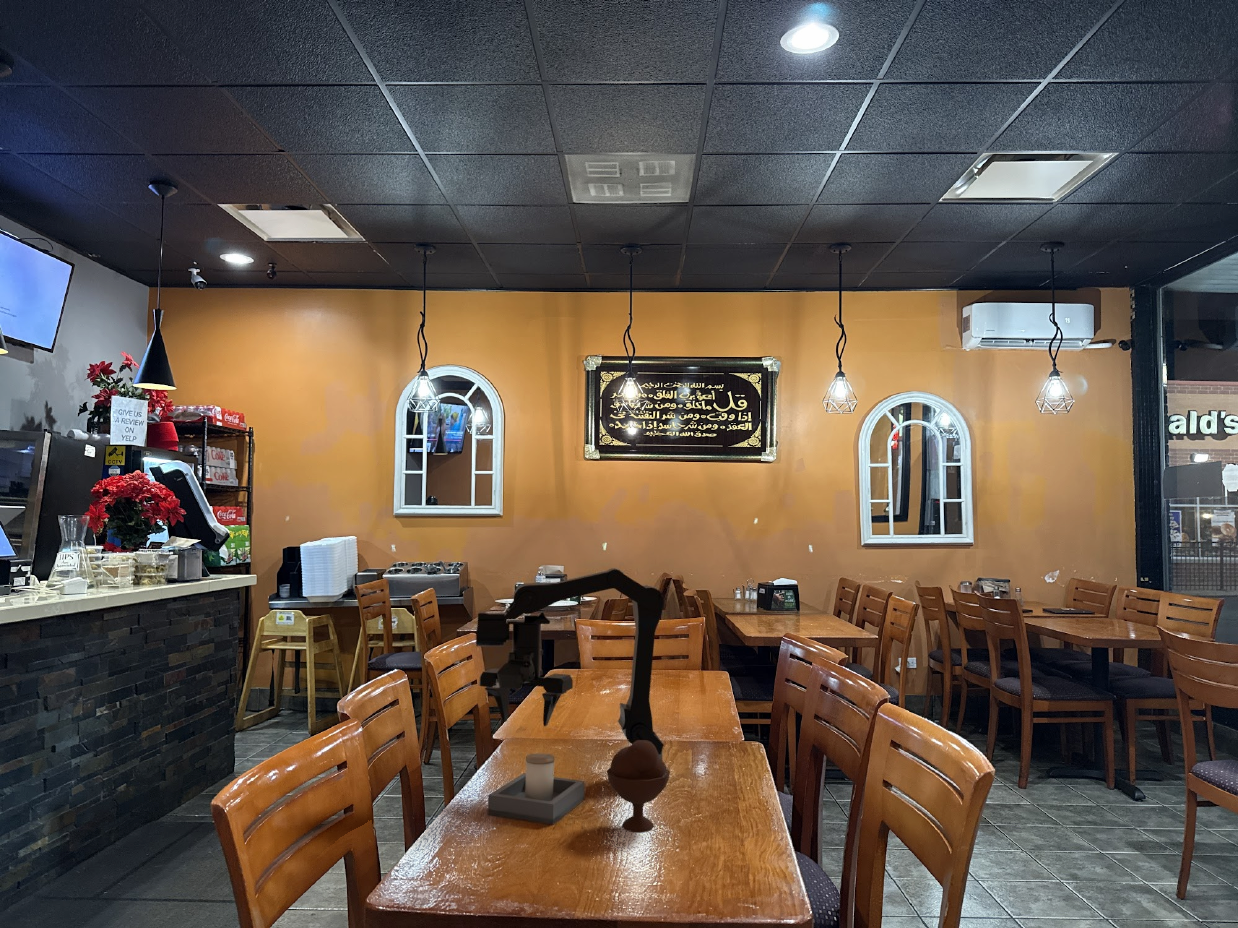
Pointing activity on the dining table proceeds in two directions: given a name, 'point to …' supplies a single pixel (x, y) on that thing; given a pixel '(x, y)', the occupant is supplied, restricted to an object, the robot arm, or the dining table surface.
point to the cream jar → (539, 776)
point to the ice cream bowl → (638, 780)
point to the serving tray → (536, 801)
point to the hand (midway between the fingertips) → (525, 723)
